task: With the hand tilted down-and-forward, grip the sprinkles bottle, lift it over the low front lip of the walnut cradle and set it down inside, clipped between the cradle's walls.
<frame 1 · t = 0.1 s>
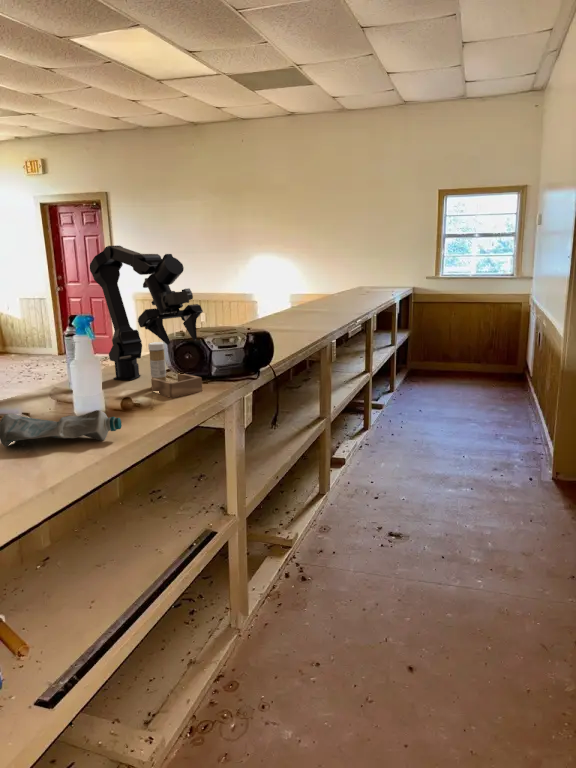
hand: (182, 341, 155), 15 cm above the table, fingers open, 9 cm apart
cradle: (177, 391, 161), on the table
crushed plastic bottle: (63, 443, 120), on the table
sprinkles bottle: (159, 387, 167), on the table
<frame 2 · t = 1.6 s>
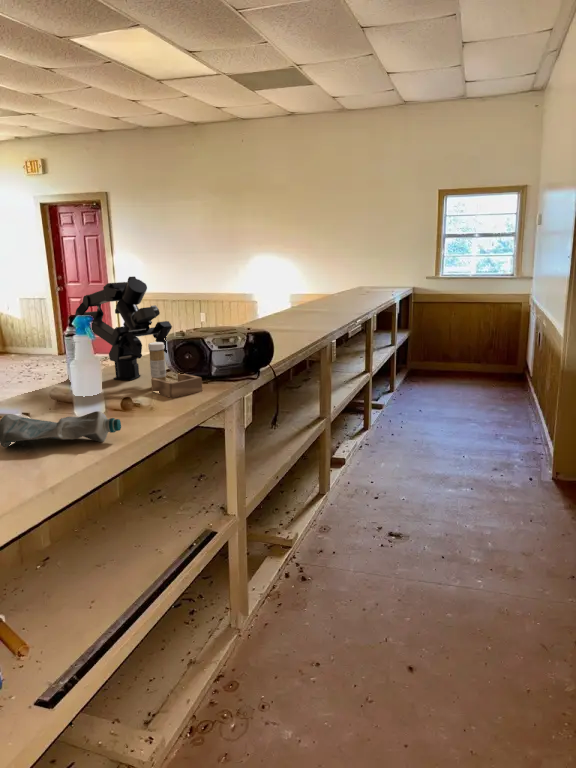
hand: (154, 354, 166), 10 cm above the table, fingers open, 9 cm apart
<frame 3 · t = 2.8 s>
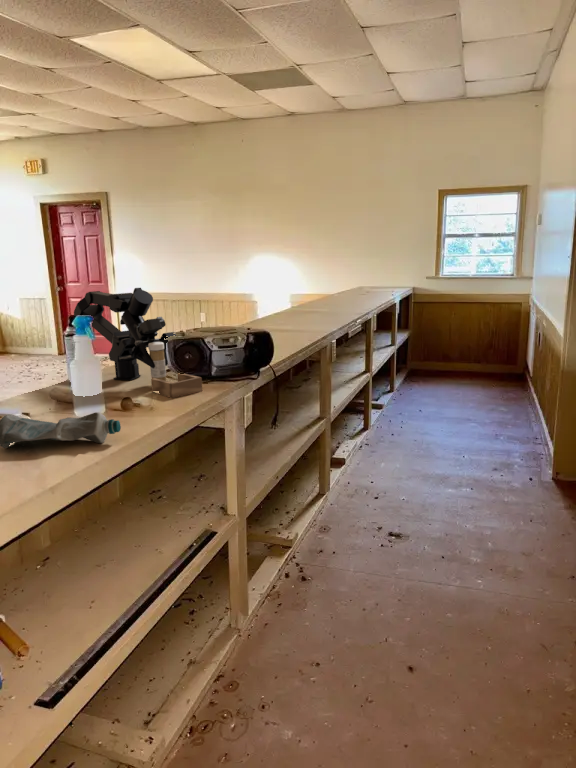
hand: (160, 366, 165), 7 cm above the table, fingers closed on sprinkles bottle, 4 cm apart
sprinkles bottle: (159, 387, 167), on the table, touching gripper
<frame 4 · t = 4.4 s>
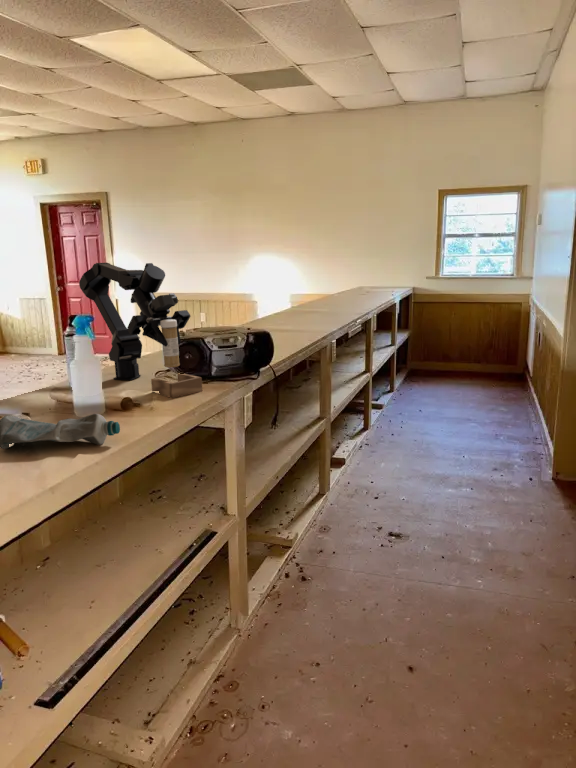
hand: (173, 344, 158), 14 cm above the table, fingers closed on sprinkles bottle, 4 cm apart
sprinkles bottle: (172, 367, 161), point 7 cm above the table, touching gripper
when the fingers open (8 cm above the table, at t = 5.9 s): sprinkles bottle drops 1 cm, resting in cradle.
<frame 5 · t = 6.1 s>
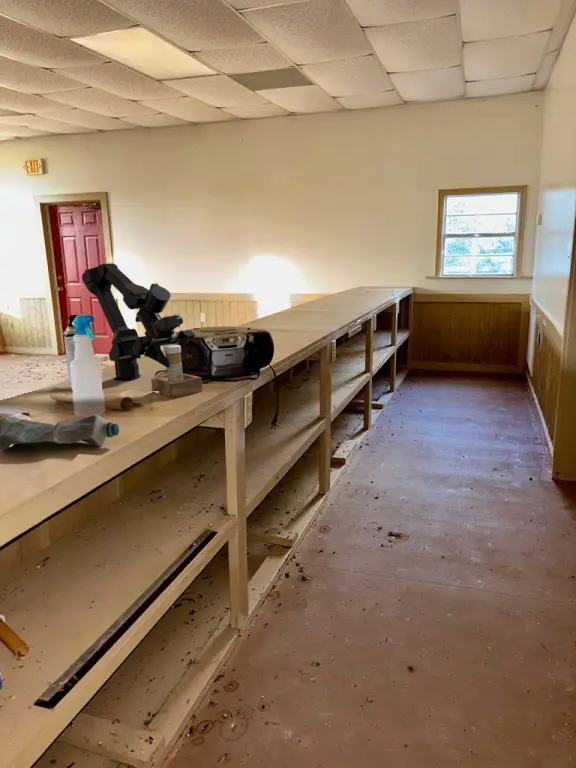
hand: (178, 365, 158), 8 cm above the table, fingers open, 6 cm apart
sprinkles bottle: (176, 391, 161), resting in cradle
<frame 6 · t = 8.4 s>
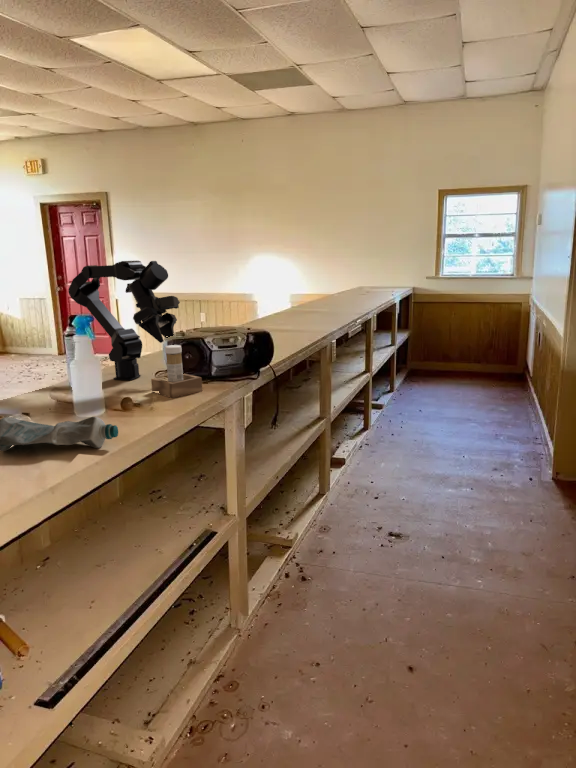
hand: (168, 343, 166), 13 cm above the table, fingers open, 9 cm apart
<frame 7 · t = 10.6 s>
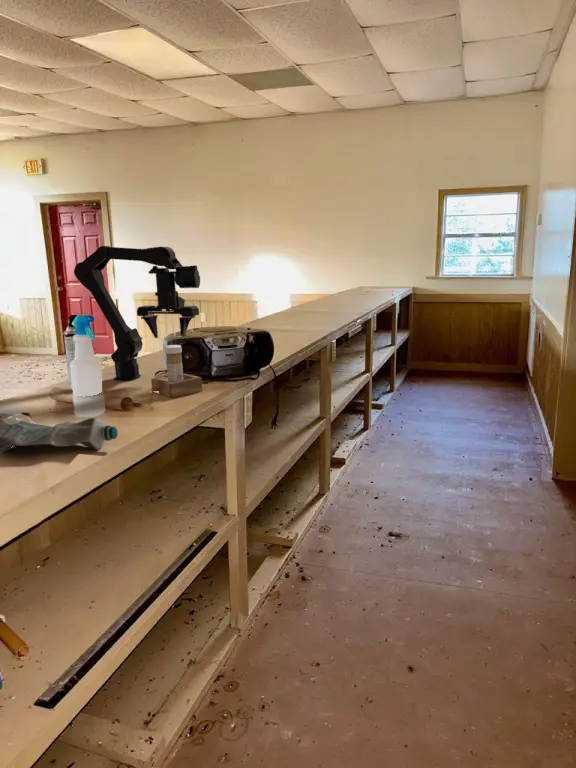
hand: (169, 338, 175), 13 cm above the table, fingers open, 9 cm apart
at the end: sprinkles bottle 0.3 cm off-centre on the cradle, point 0.0 cm above the cradle's base; sprinkles bottle tilted 0° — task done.
